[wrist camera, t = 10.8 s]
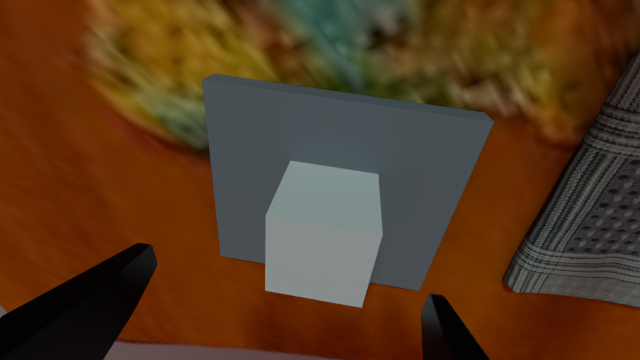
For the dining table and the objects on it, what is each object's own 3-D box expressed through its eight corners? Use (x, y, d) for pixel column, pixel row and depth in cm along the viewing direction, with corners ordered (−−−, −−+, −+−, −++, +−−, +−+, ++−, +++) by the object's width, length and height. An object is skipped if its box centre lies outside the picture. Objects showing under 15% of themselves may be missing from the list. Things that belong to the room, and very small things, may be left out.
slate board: (484, 112, 17) (493, 121, 16) (416, 275, 24) (419, 290, 23) (213, 73, 18) (202, 79, 17) (227, 242, 25) (220, 255, 24)
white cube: (378, 173, 18) (382, 234, 14) (362, 239, 21) (361, 307, 17) (290, 160, 19) (265, 215, 14) (286, 226, 22) (265, 290, 17)
